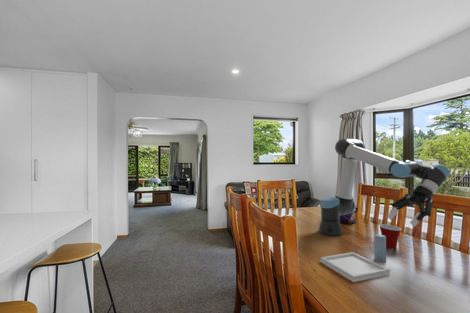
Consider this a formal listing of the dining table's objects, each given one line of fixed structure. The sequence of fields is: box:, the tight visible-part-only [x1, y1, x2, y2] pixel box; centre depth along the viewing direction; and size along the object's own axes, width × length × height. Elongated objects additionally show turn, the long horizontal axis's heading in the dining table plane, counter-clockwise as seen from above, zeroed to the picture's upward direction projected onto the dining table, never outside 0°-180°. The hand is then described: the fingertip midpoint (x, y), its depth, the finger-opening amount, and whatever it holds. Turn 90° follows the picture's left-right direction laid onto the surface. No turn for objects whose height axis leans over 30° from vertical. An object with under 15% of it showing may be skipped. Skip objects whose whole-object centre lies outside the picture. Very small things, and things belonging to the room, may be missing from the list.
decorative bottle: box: [340, 206, 359, 224], centre depth 188 cm, size 22×21×25 cm
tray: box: [320, 251, 391, 283], centre depth 107 cm, size 20×20×2 cm
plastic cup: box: [378, 223, 403, 250], centre depth 132 cm, size 11×11×12 cm
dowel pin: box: [373, 234, 387, 263], centre depth 115 cm, size 5×5×12 cm
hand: (400, 221), depth 117 cm, fingers open, 13 cm apart
